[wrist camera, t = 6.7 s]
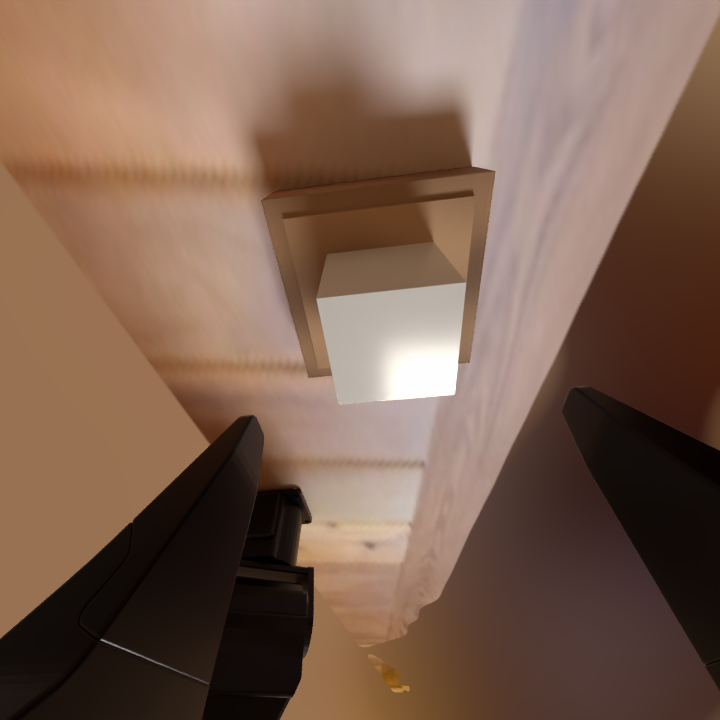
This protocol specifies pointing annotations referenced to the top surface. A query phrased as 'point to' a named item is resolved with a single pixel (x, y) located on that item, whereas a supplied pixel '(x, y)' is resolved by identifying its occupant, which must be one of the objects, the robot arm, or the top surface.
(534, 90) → the top surface
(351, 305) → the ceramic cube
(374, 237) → the walnut plinth
